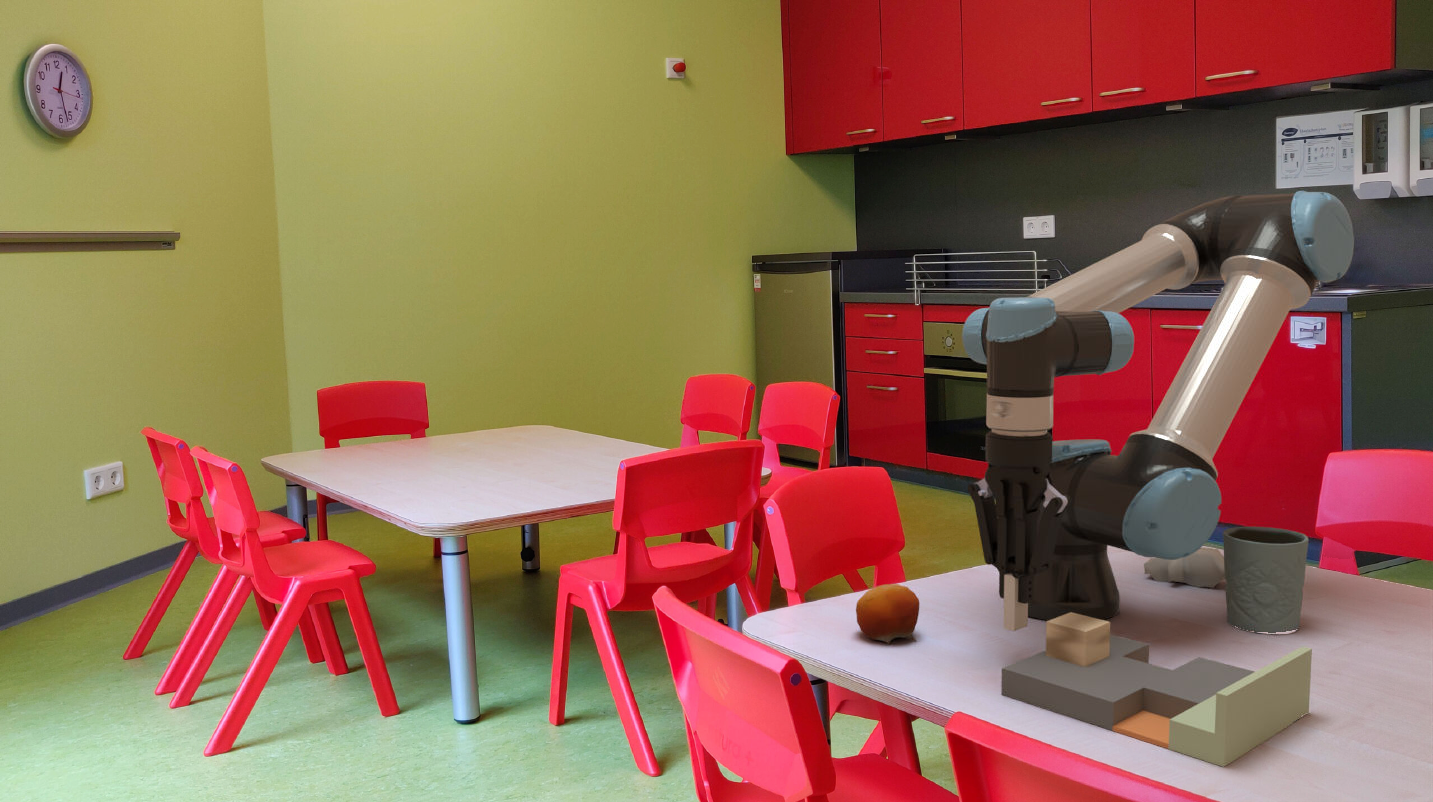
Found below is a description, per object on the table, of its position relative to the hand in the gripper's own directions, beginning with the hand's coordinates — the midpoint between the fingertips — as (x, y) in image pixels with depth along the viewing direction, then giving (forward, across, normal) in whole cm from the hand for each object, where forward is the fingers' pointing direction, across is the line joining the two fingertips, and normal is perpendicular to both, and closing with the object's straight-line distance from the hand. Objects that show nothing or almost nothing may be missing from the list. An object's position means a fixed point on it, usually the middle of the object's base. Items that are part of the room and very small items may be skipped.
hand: (1015, 626), depth 137 cm
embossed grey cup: (+5, +13, +36) cm, 38 cm away
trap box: (+4, +17, 0) cm, 18 cm away
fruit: (+5, -17, -4) cm, 18 cm away
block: (+1, +8, 0) cm, 8 cm away
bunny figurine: (+5, -1, +48) cm, 48 cm away
